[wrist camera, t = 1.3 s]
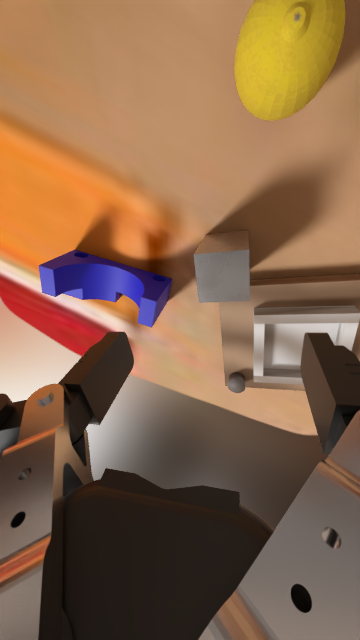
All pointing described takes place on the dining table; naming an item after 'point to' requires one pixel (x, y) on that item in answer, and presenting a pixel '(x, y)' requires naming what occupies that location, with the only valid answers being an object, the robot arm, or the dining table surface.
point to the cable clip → (105, 282)
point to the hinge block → (223, 267)
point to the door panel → (286, 327)
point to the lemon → (286, 54)
